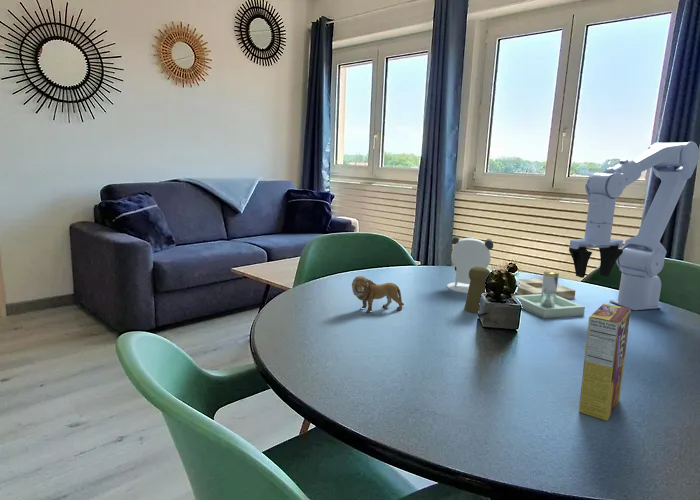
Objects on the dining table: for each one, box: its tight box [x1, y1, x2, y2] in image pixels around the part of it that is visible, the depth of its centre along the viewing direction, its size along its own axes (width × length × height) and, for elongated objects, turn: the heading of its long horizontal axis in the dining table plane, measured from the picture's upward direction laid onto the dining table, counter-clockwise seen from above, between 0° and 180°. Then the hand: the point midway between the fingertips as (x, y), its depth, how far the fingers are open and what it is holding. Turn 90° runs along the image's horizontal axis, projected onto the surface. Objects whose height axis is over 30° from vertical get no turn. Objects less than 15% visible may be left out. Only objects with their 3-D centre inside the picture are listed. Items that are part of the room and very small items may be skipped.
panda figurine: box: [446, 235, 494, 294], centre depth 137 cm, size 12×11×15 cm
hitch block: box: [516, 277, 576, 300], centre depth 136 cm, size 14×14×2 cm
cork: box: [463, 267, 491, 315], centre depth 117 cm, size 6×6×11 cm
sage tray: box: [515, 294, 586, 319], centre depth 120 cm, size 12×12×2 cm
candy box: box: [578, 303, 632, 422], centre depth 71 cm, size 9×4×15 cm, turn 140°
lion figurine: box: [351, 275, 405, 312], centre depth 115 cm, size 15×5×9 cm, turn 116°
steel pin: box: [540, 270, 560, 308], centre depth 119 cm, size 4×4×9 cm
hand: (592, 276), depth 117 cm, fingers open, 7 cm apart
